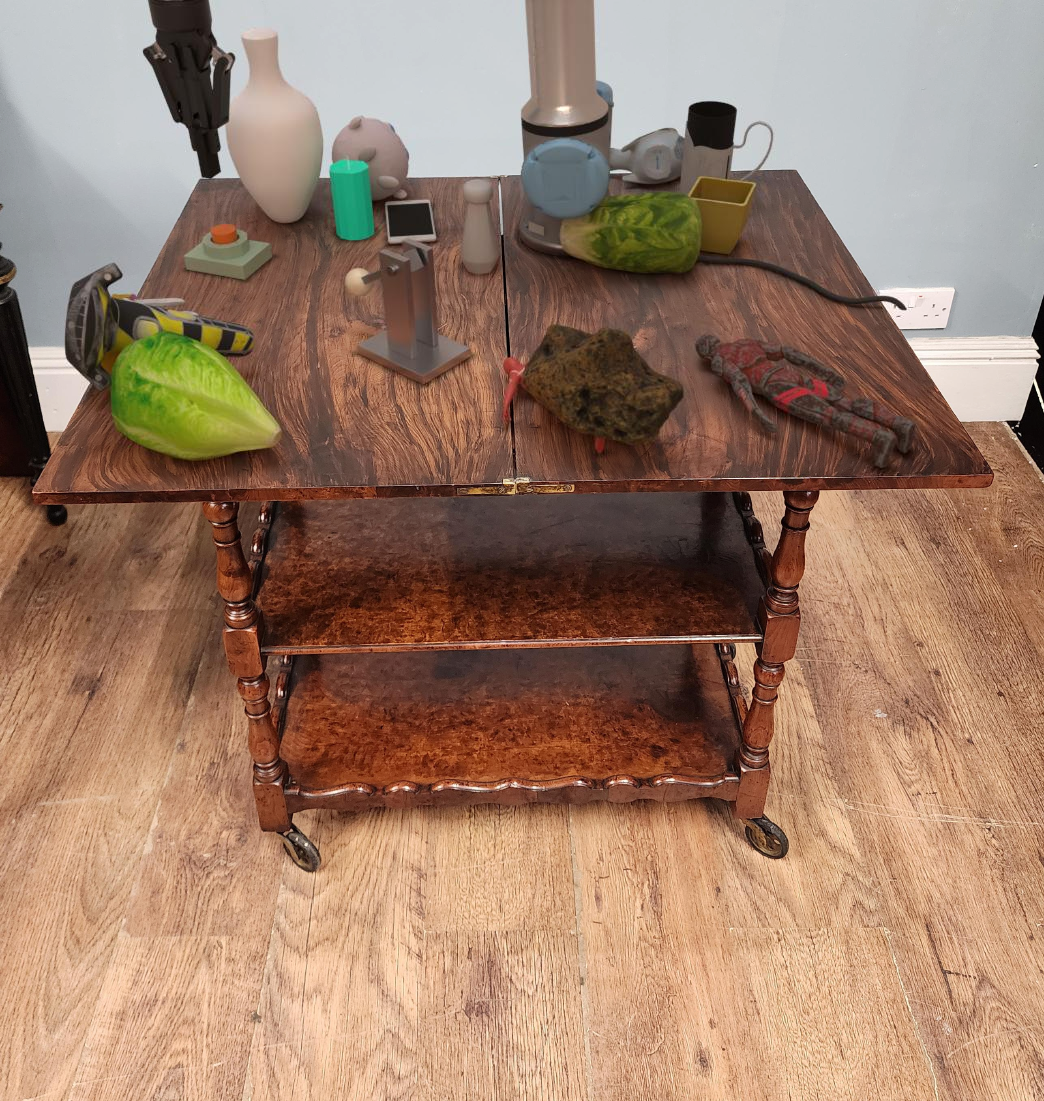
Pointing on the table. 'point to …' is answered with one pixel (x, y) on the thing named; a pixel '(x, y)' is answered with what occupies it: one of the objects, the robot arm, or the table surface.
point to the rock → (600, 384)
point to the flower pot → (722, 211)
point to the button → (224, 234)
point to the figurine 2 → (802, 392)
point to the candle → (352, 199)
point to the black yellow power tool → (133, 326)
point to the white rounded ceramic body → (651, 157)
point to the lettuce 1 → (186, 400)
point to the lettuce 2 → (637, 233)
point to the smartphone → (410, 221)
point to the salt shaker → (479, 228)
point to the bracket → (411, 320)
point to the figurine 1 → (515, 377)
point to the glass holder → (711, 143)
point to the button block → (228, 256)
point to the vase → (274, 134)
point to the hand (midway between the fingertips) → (211, 174)
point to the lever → (375, 275)
